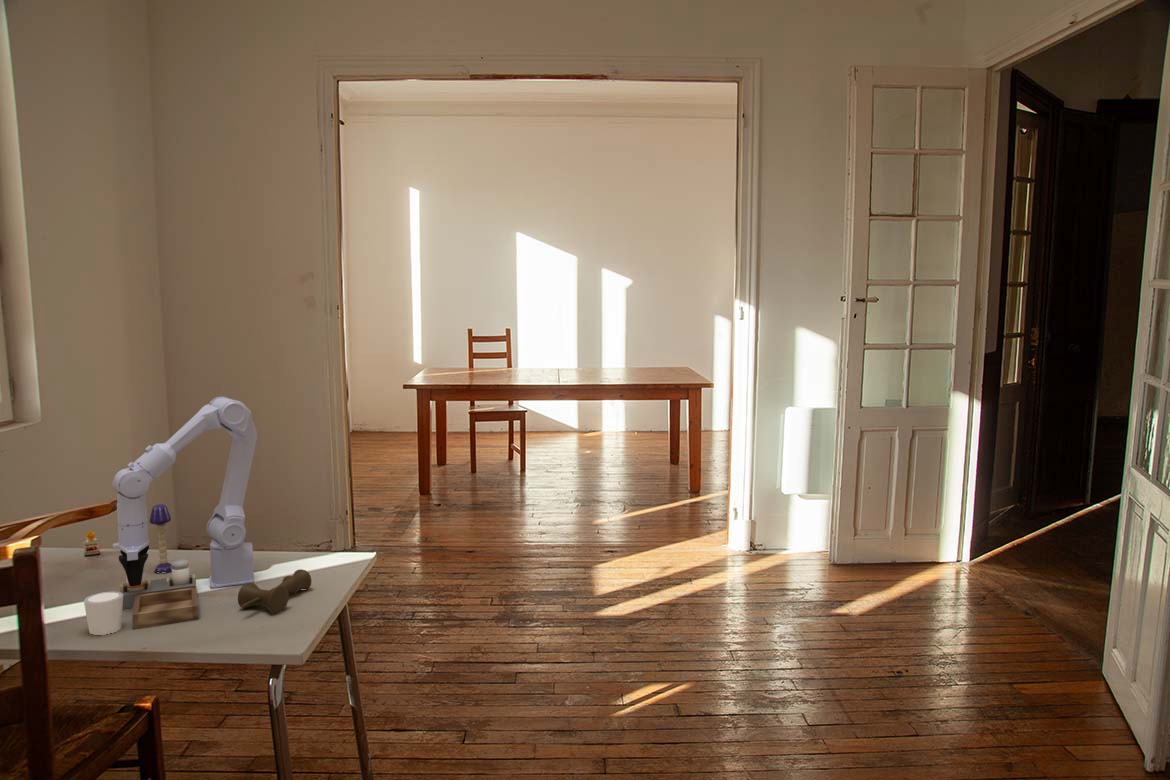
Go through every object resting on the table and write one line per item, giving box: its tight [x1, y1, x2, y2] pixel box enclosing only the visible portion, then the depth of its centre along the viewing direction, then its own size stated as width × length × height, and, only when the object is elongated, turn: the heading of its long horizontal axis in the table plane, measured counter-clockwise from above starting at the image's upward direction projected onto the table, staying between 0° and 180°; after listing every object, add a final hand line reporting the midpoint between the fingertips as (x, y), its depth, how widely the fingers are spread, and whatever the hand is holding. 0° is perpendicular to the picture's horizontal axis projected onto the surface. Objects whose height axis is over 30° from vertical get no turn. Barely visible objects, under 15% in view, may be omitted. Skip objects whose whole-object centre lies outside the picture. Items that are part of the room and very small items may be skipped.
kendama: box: [237, 569, 312, 615], centre depth 178 cm, size 6×10×20 cm
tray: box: [132, 586, 199, 630], centre depth 172 cm, size 12×12×3 cm
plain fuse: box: [170, 557, 191, 586], centre depth 182 cm, size 4×4×8 cm
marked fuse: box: [125, 567, 146, 592], centre depth 178 cm, size 4×4×8 cm
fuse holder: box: [119, 573, 197, 610], centre depth 181 cm, size 15×8×4 cm, turn 117°
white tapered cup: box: [83, 591, 123, 636], centre depth 163 cm, size 7×7×7 cm
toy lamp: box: [149, 504, 172, 573], centre depth 197 cm, size 5×5×17 cm
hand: (135, 582), depth 178 cm, fingers closed on marked fuse, 4 cm apart
